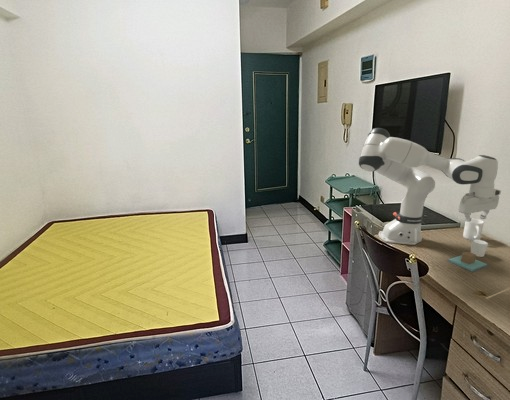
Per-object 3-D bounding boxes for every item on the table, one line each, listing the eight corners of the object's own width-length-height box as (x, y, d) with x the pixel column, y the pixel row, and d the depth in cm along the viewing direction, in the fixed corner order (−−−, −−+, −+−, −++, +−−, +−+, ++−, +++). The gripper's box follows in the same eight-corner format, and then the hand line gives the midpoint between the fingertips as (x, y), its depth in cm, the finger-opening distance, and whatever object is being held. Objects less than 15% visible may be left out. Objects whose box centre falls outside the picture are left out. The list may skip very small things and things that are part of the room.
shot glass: (485, 259, 158) (488, 246, 156) (469, 255, 161) (471, 243, 159) (485, 253, 163) (487, 240, 161) (469, 250, 167) (471, 238, 165)
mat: (472, 273, 145) (472, 272, 145) (445, 261, 156) (445, 260, 156) (489, 266, 151) (490, 266, 150) (462, 255, 162) (462, 254, 162)
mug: (485, 244, 173) (489, 226, 170) (468, 243, 175) (471, 225, 172) (476, 235, 184) (480, 218, 181) (460, 234, 186) (463, 217, 183)
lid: (471, 271, 146) (473, 261, 145) (448, 260, 156) (450, 251, 154) (486, 265, 151) (488, 256, 149) (463, 255, 160) (465, 247, 159)
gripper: (470, 195, 140) (465, 225, 144) (503, 190, 146) (497, 219, 151) (457, 192, 146) (452, 220, 150) (490, 187, 152) (484, 215, 156)
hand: (475, 220), depth 150 cm, fingers open, 8 cm apart
